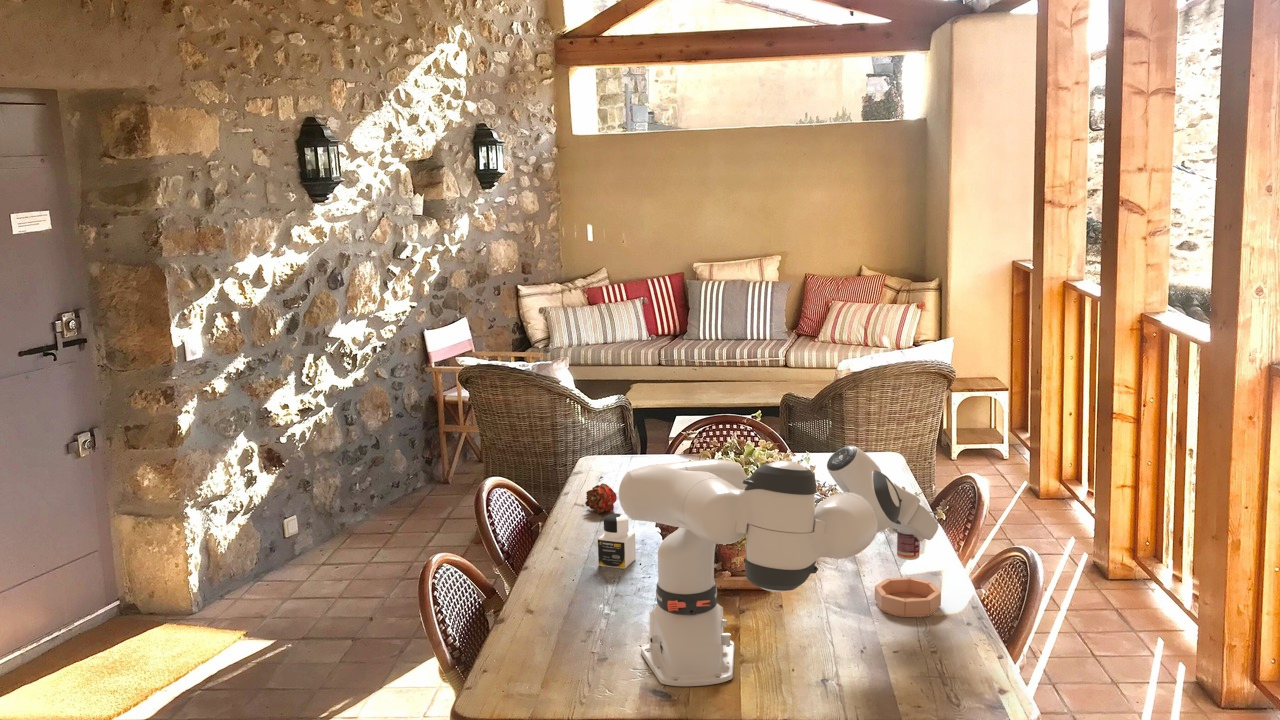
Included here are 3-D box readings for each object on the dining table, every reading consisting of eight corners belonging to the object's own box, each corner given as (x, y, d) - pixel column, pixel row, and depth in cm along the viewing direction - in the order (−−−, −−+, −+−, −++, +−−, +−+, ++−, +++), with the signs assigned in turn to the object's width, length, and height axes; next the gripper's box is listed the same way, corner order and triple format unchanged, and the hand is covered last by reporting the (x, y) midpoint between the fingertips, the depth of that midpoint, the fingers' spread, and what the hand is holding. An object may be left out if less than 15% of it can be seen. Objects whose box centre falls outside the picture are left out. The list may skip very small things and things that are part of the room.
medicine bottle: (598, 566, 268) (596, 519, 265) (609, 556, 274) (608, 510, 272) (625, 569, 265) (623, 521, 263) (636, 559, 271) (634, 512, 269)
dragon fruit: (595, 524, 303) (601, 516, 315) (620, 505, 302) (625, 498, 314) (577, 499, 303) (584, 492, 315) (601, 481, 303) (607, 475, 314)
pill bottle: (920, 561, 234) (920, 523, 232) (897, 559, 235) (897, 522, 233) (919, 553, 239) (920, 516, 237) (896, 552, 240) (897, 515, 238)
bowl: (947, 615, 233) (947, 598, 232) (887, 619, 232) (887, 602, 231) (926, 592, 246) (926, 576, 245) (869, 595, 245) (869, 579, 244)
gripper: (835, 500, 237) (867, 533, 244) (908, 524, 220) (940, 559, 227) (850, 476, 238) (881, 510, 245) (924, 498, 222) (955, 534, 229)
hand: (910, 534), depth 236 cm, fingers closed on pill bottle, 5 cm apart
